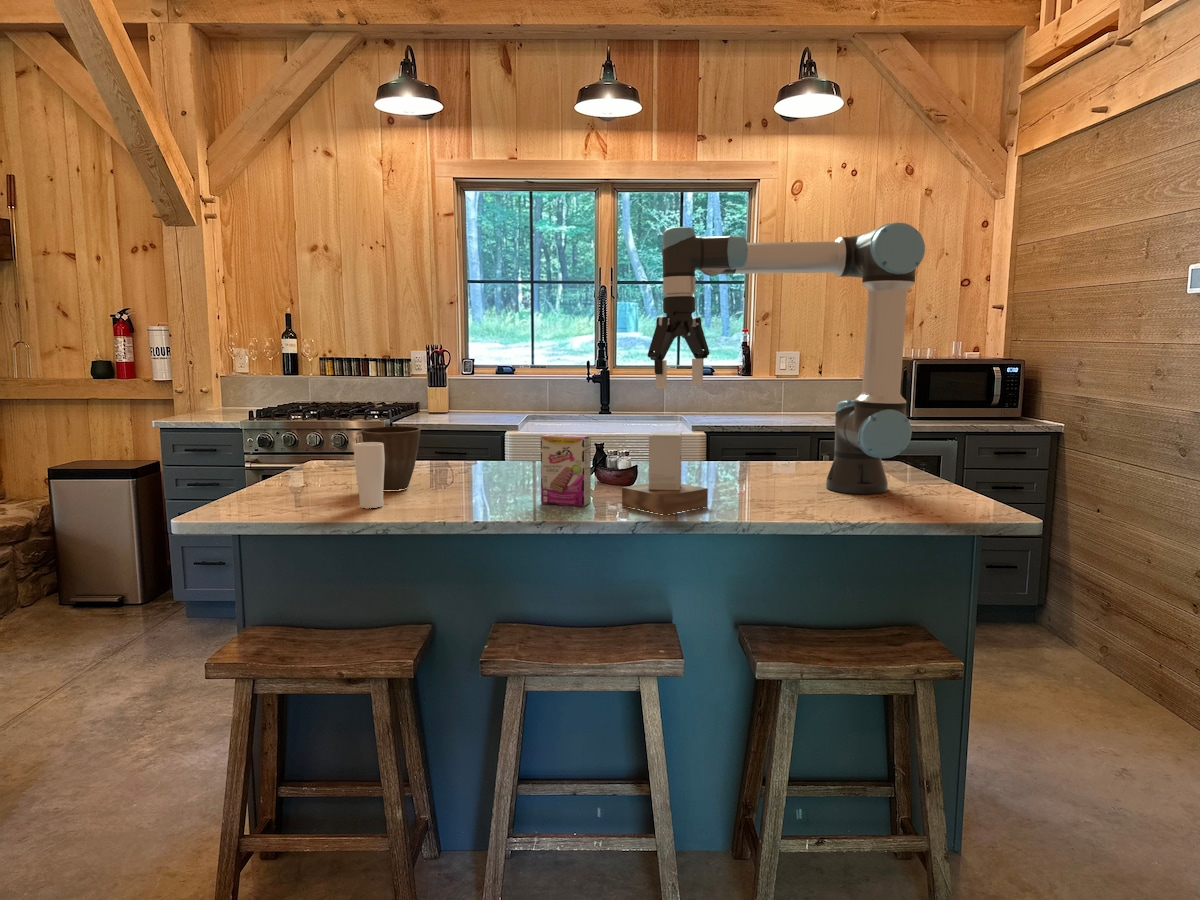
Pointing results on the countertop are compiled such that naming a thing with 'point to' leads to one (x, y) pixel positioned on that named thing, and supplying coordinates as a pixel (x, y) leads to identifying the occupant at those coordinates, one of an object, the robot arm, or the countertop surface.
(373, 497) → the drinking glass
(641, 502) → the walnut base block
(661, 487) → the supplement box
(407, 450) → the plant pot
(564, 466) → the candy bar box
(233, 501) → the countertop surface
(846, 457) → the robot arm
